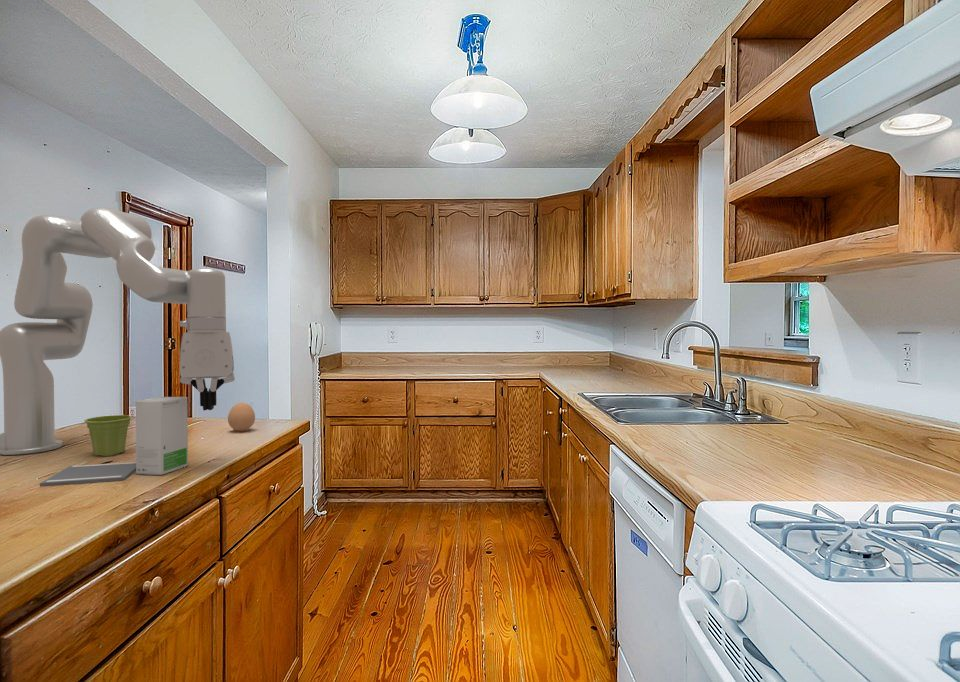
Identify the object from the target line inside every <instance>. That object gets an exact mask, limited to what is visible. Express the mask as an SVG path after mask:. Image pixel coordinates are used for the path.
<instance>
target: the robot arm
mask: <svg viewBox="0 0 960 682" xmlns="http://www.w3.org/2000/svg"><path fill="white" fill-rule="evenodd" d="M152 234H153V233H152V229H151V226H150V225H149V222H148V221H146V219H144V218H143V217H142V216H139V215H137V214H134V213H129V212H124V211H121V210H118V209H112V208H108V207H107V208H106V207H94V208H90V209H88V210H87V211H85V212H84V213H83V214H82V216H80V219H75V218H72V217H66V216H62V215H60V216H59V215H54V214H53V215H51V214H42V215H36V216H34V217H32V218H30V219H29V220H28V221H27V222H26V223H25V226H24V227H23V230H22V233H21V249H22V262H21V265H20V270H19V275H18V281H17V285H16V289H15V295H14V302H13V303H14V304H13V305H14V306H13V307H14V310H15V312H16V313H17V314H18V315H19V316H21V317H24V318H28V319H33V320H34V319H35V320H36V319H39V320H56V322H44V321H43V322H42V321H40V322H37V321H36V322H29V321H27V322H24V321H23V322H16V323H15V322H14V323H10V324H8V325H6V326H4V327H3V328H1V329H0V361H1V366H2V381H3V386H2V387H3V388H2V389H3V430H4V431H3V432H1V433H0V455H3V456H11V455H12V456H16V455H28V454H35V453H43V452H47V451H48V452H49V451H52V450H53V451H54V450H56V449H59V448H61V447H62V446H63V443H64V442H63V441H62V440H60V439H55V438H56V437H55V434H56V433H55V429H56V427H55V426H56V425H55V381H54V379H55V378H54V375H53V373H52V371H51V370H50V368H49V367H48V366H47V364H46V362H45V361H49V360H50V361H52V360H66V359H72V358H75V357H77V356H78V355H79V354H80V353H81V352H82V350H83V348H84V346H85V342H86V339H87V335H88V334H87V333H88V332H89V327H90V322H91V317H92V312H93V305H94V304H93V299H92V295H91V293H90V291H89V290H88V288H86V287H84V285H81V284H78V283H75V282H74V283H73V282H66V281H65V279H66V276H67V271H68V268H67V263H66V260H65V258H64V255H63V254H70V255H75V256H80V257H81V256H82V257H89V258H96V259H109V258H112V259H113V260H115V261H116V264H115V266H116V267H115V268H116V272H117V275H118V278H119V279H120V281H121V282H122V283H123V284H124V285H125V286H126V287H127V288H128V289H129V290H130V291H132V292H133V293H134V294H136V295H137V296H139V297H140V298H142V299H144V300H146V301H148V302H153V303H162V304H163V303H165V304H179V305H186V314H187V315H186V316H187V317H186V319H184V320H180V321H179V326H180V328H185V329H186V330H187V332H183V333H182V337H181V342H180V350H179V351H180V352H179V353H180V354H179V375H180V379H179V383H181V384H185V385H191V386H193V387H194V388H195V389H196V390H197V391H198V392H199V405H200V407H202V410H203V411H207V410H208V411H212V410H213V409H215V408H214V407H215V406H217V390H219V389H220V387H222V385H224V384H228V383H231V382H234V381H235V380H236V377H235V374H234V365H235V364H234V363H235V362H234V351H233V344H232V338H231V334H230V332H227V318H226V317H227V314H226V313H227V309H226V308H227V306H226V303H227V302H226V276H225V274H224V272H223V271H221V270H219V269H211V268H193V269H190V270H182V269H176V268H169V267H161V266H160V267H159V266H156V265H154V264H153V263H151V260H153V257H154V255H155V251H156V247H155V244H154V242H153V240H152V236H153V235H152ZM206 379H211V380H210V385H209V389H208V388H207V385H206Z"/></svg>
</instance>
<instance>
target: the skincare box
mask: <svg viewBox="0 0 960 682" xmlns="http://www.w3.org/2000/svg"><path fill="white" fill-rule="evenodd" d="M134 402H135V452H136V453H135V462H136V471H135V474H137V475H150V476H162V475H166V474H168V473H172V472H175V471H177V470H180V469H184V468H186V466H187V467H188V466H189V446H188V445H189V441H188V440H189V439H188V437H189V435H188V431H189V430H188V423H189V422H188V397H187V396H160V397H158V396H157V397H149V398H145V399H144V398H143V399H137V400H135V401H134ZM183 467H184V468H183Z"/></svg>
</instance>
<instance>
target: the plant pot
mask: <svg viewBox="0 0 960 682" xmlns="http://www.w3.org/2000/svg"><path fill="white" fill-rule="evenodd" d="M132 418H133V416H132V415H127V414H114V415H102V416H95V417H89V418H86V419H85V420H84V423H85V424H86V427H87V429H88V432H89V436H90V440H91V445H92V451H93V452H92V453H93V455H94V456H95V457H97V456H98V457H99V456H101V457H110V456H116V455H118V454H120V453H125V449H126V442H127V435H128V429H129V426H130V421H131V419H132Z"/></svg>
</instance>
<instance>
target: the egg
mask: <svg viewBox="0 0 960 682" xmlns="http://www.w3.org/2000/svg"><path fill="white" fill-rule="evenodd" d="M255 421H256V413H255V411H254V409H253V407H252V406H251V405H250V404H249V403H246V402H238V403H235V404H234V405H233V406H232V407H231V408H230V411H229V412H228V414H227V423H228V425H229V426H230V428H231V429H232V430H234V431H235V432H245V431H247V430H250V428H252V427H253V425H254V423H255Z"/></svg>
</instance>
